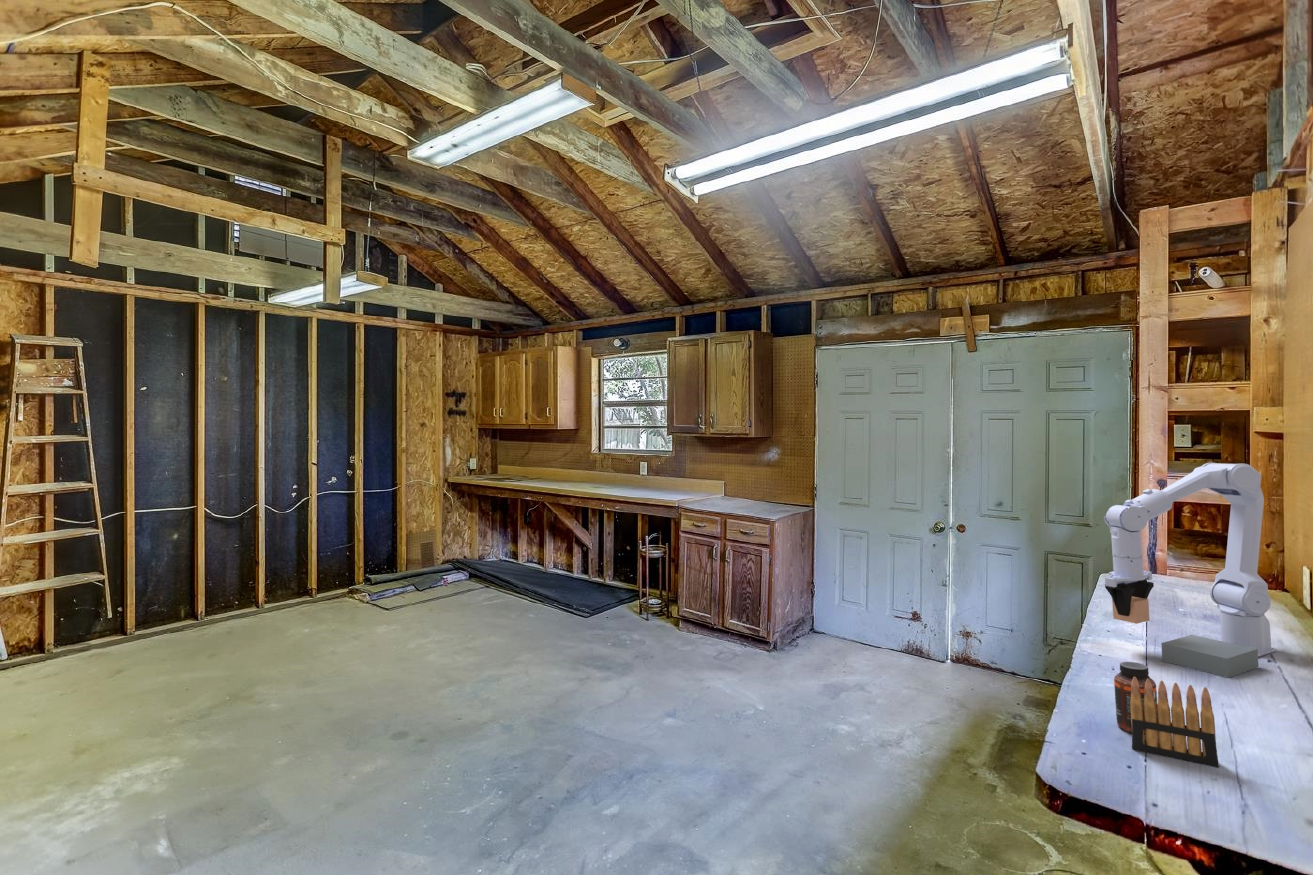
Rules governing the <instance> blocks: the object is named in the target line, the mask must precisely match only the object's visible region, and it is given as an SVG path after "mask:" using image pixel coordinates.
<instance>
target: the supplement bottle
mask: <svg viewBox="0 0 1313 875" xmlns="http://www.w3.org/2000/svg"><path fill="white" fill-rule="evenodd" d="M1149 674H1150V673H1149V667H1148V666H1147V665H1145V664H1143V663H1140V662H1136V661H1135V662H1133V661H1122V662H1120V663H1119V673H1117V674H1115V676H1114V678H1113V683H1114V685H1113V686H1114V698H1115V701H1114V704H1115V716H1116V724H1117V725H1118V727H1119V728H1120V729H1122V730H1124V731H1126V732H1128V733H1130V732H1131V733H1130V734H1132V723H1131V705H1130V701H1131V684H1132V680H1133V677H1134V676H1135V677H1136V678H1137V680H1138V683H1139V687H1140V694H1141V700H1142V704H1143V716H1144V695H1145V692H1144V690H1145V683H1146V680H1147V679H1149V680H1150V681H1151V684H1152V687H1153V692H1154V700H1155V704H1156V711H1157V705H1158V689H1157V684H1156V682H1155V680H1154V679H1153V678H1151V677H1150V675H1149ZM1157 720H1158V713H1157ZM1144 730H1145V729H1144ZM1158 733H1159V731H1158Z"/></svg>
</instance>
